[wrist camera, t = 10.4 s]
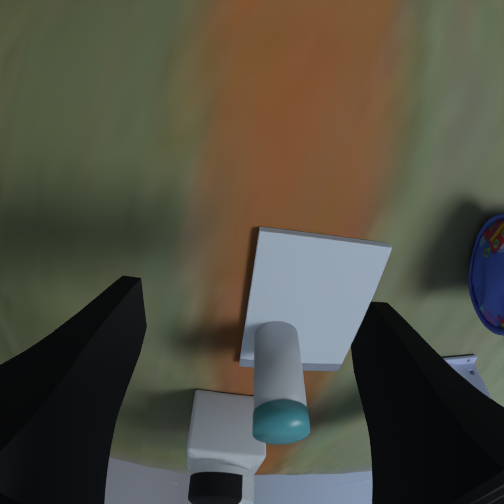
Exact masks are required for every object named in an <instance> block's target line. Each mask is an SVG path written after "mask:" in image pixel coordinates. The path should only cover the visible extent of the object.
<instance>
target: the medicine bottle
mask: <svg viewBox="0 0 504 504" xmlns="http://www.w3.org/2000/svg"><path fill="white" fill-rule="evenodd" d="M253 411H254V396H247V395H238V394H229V393H221V392H213V391H206V390H200V389H198V390H196V391H195V396H194V402H193V409H192V415H191V422H190V429H189V435H188V442H187V469H188V470H189V471H191V477H190V485H189V494H188V500H189V501H190V502H191V503H192V504H254V474H255V473H256V471H257V470H258V468H259V467H260V465H261V464H262V462H263V460H264V459H265V457H266V443H263V442H260V441H258V440H256V439H255V438H254V437H253V434H252V428H253Z"/></svg>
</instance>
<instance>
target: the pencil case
mask: <svg viewBox="0 0 504 504" xmlns="http://www.w3.org/2000/svg"><path fill="white" fill-rule="evenodd" d="M468 284H469V291H470V296H471V300H472V303H473V306H474V309H475V311H476V313H477V315H478V317H479V318H480V320H481V322H482V323H483V324H484V326H485V327H486V328H487V329H489V330H490V331H491V332H493V333H495V334H498V335H504V213H502V214H498V215H495V216H493V217H492V218H490V219H489V220H488V221H487V222H486V223H485V224H484V226H483V227H482V228H481V229H480V231H479V233H478V235H477V237H476V241H475V244H474V247H473V252H472V256H471V260H470V265H469V273H468Z"/></svg>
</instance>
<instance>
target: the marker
mask: <svg viewBox="0 0 504 504" xmlns="http://www.w3.org/2000/svg"><path fill="white" fill-rule="evenodd" d="M252 434H253V437H254V438H255V439H256V440H258V441H260V442H263V443H267V444H288V443H293V442H297V441H300V440H302V439H304V438H305V437H307V436H308V435H309V434H310V422H309V413H308V408H307V403H306V394H305V386H304V378H303V370H302V362H301V354H300V346H299V339H298V332H297V330H296V328H295V327H294V326H293V325H291V324H289V323H287V322H283V321H272V322H268V323H265V324H263V325H261V326H260V327H259V328H258V329H257V330H256V332H255V335H254V411H253V428H252Z"/></svg>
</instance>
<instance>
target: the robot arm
mask: <svg viewBox="0 0 504 504" xmlns="http://www.w3.org/2000/svg"><path fill="white" fill-rule="evenodd" d="M146 327H147V324H146V317H145V309H144V301H143V292H142V283H141V278H137V277H129V276H122V277H120V278H119V279H118V280H117V281H115V282H114V283H113V284H112V285H111V286H109V287H108V288H107V289H106V290H105V291H103V292H102V293H101V294H100V295H99V296H97V297H96V298H95V299H94V300H93V301H91V302H90V303H89V304H88V305H87V306H85V307H84V308H83V309H82V310H81V311H79V312H78V313H77V314H76V315H74V316H73V317H72V318H70V319H69V320H68V321H67V322H65V323H64V324H63V325H61V326H60V327H59V328H58V329H56V330H55V331H54V332H52V333H51V334H50V335H48V336H47V337H45V338H44V339H42V340H41V341H40V342H38V343H36V344H35V345H33V346H32V347H30V348H29V349H27V350H26V351H24V352H22V353H21V354H19V355H17V356H15V357H14V358H12V359H10V360H8V361H6V362H5V363H3V364H1V365H0V504H104V500H105V487H106V477H107V468H108V461H109V455H110V449H111V443H112V438H113V433H114V429H115V424H116V420H117V416H118V413H119V409H120V407H121V404H122V401H123V398H124V395H125V393H126V390H127V387H128V384H129V382H130V379H131V376H132V374H133V371H134V368H135V366H136V363H137V360H138V358H139V355H140V352H141V348H142V344H143V340H144V336H145V332H146ZM351 351H352V360H353V367H354V373H355V377H356V382H357V385H358V389H359V394H360V397H361V401H362V405H363V409H364V413H365V418H366V422H367V426H368V431H369V437H370V446H371V457H372V477H373V495H372V504H504V407H503V406H501V405H499V404H498V403H496V402H495V401H494V400H492V399H491V396H490V394H489V392H488V390H487V388H486V386H485V384H484V382H483V380H482V378H481V376H480V374H479V372H478V370H477V368H476V366H475V364H474V362H475V361H476V359H477V356H476V355H469V356H459V357H448V358H442V357H441V356H440V355H439V354H438V353H437V352H436V351H435V350H434V349H433V348H432V347H431V346H430V345H429V344H428V343H427V342H426V341H425V340H424V339H423V338H422V337H421V336H420V335H419V334H418V333H417V332H416V331H415V330H414V329H413V328H412V327H411V326H410V325H409V324H408V322H407V321H406V320H405V319H404V318H403V317H402V316H401V315H400V314H399V313H398V312H397V311H396V310H394V309H393V308H392V307H391V306H390V305H389V304H388V303H385V302H370V304H369V307H368V309H367V311H366V313H365V316H364V318H363V320H362V322H361V325H360V327H359V329H358V331H357V333H356V335H355V337H354V340H353V342H352V344H351Z"/></svg>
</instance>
